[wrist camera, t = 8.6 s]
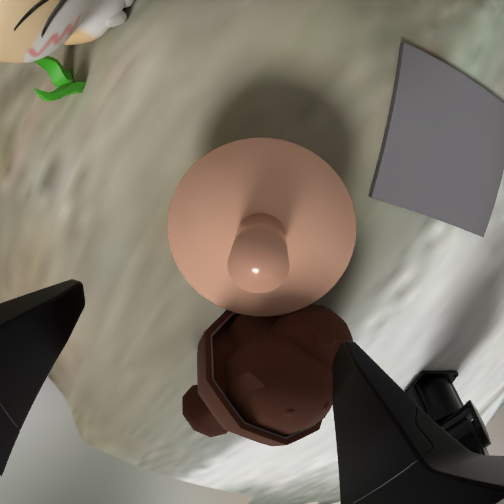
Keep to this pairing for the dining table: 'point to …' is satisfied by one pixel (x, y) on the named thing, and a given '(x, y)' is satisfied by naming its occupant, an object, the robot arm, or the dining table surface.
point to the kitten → (54, 33)
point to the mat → (441, 144)
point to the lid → (261, 227)
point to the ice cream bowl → (266, 375)
